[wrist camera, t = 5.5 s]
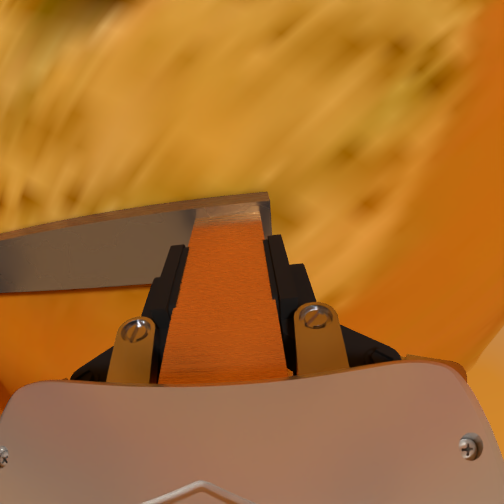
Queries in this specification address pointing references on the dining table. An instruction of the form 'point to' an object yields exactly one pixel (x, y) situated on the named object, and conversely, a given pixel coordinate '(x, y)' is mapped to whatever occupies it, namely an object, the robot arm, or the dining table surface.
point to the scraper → (192, 284)
